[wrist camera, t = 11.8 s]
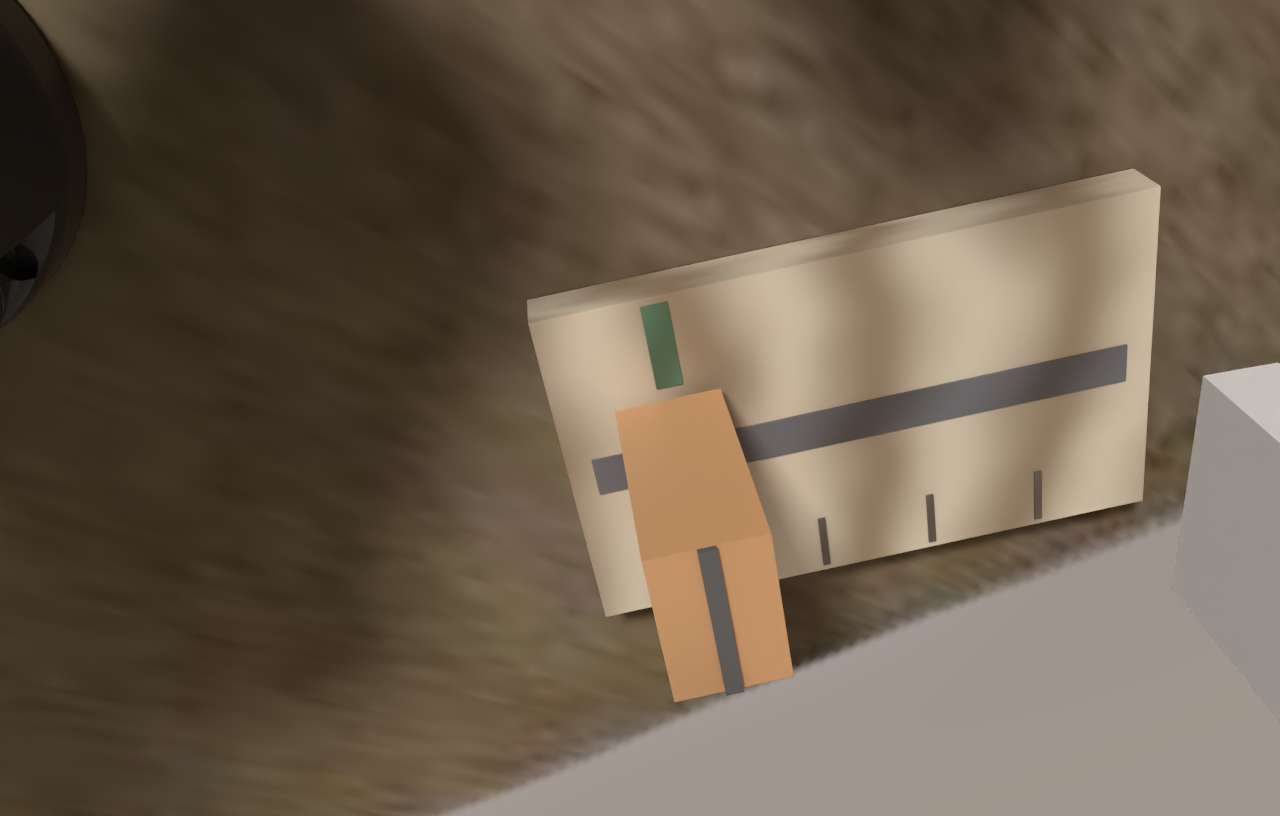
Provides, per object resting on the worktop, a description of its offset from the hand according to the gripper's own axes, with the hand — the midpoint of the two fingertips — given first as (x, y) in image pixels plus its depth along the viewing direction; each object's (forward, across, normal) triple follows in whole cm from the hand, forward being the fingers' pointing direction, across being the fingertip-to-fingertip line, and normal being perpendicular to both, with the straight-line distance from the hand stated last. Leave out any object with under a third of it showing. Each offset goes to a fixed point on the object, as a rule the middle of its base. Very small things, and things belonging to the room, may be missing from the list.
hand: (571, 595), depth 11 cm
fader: (+27, +3, -17) cm, 32 cm away
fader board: (+29, +10, -17) cm, 35 cm away
